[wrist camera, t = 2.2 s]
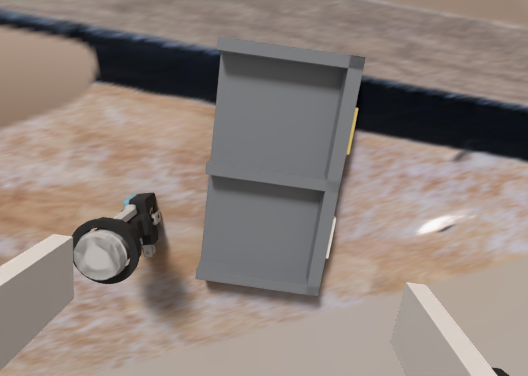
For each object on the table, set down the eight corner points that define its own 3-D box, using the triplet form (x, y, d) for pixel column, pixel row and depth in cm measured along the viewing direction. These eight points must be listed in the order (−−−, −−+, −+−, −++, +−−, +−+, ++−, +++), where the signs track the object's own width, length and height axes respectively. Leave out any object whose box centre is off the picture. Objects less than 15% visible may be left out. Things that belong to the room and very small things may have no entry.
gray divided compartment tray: (202, 264, 37) (195, 278, 34) (224, 42, 31) (218, 36, 28) (317, 281, 36) (320, 296, 34) (360, 61, 31) (369, 57, 28)
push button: (178, 249, 36) (141, 304, 27) (128, 252, 37) (74, 308, 27) (168, 187, 35) (125, 222, 25) (116, 191, 35) (54, 227, 25)
